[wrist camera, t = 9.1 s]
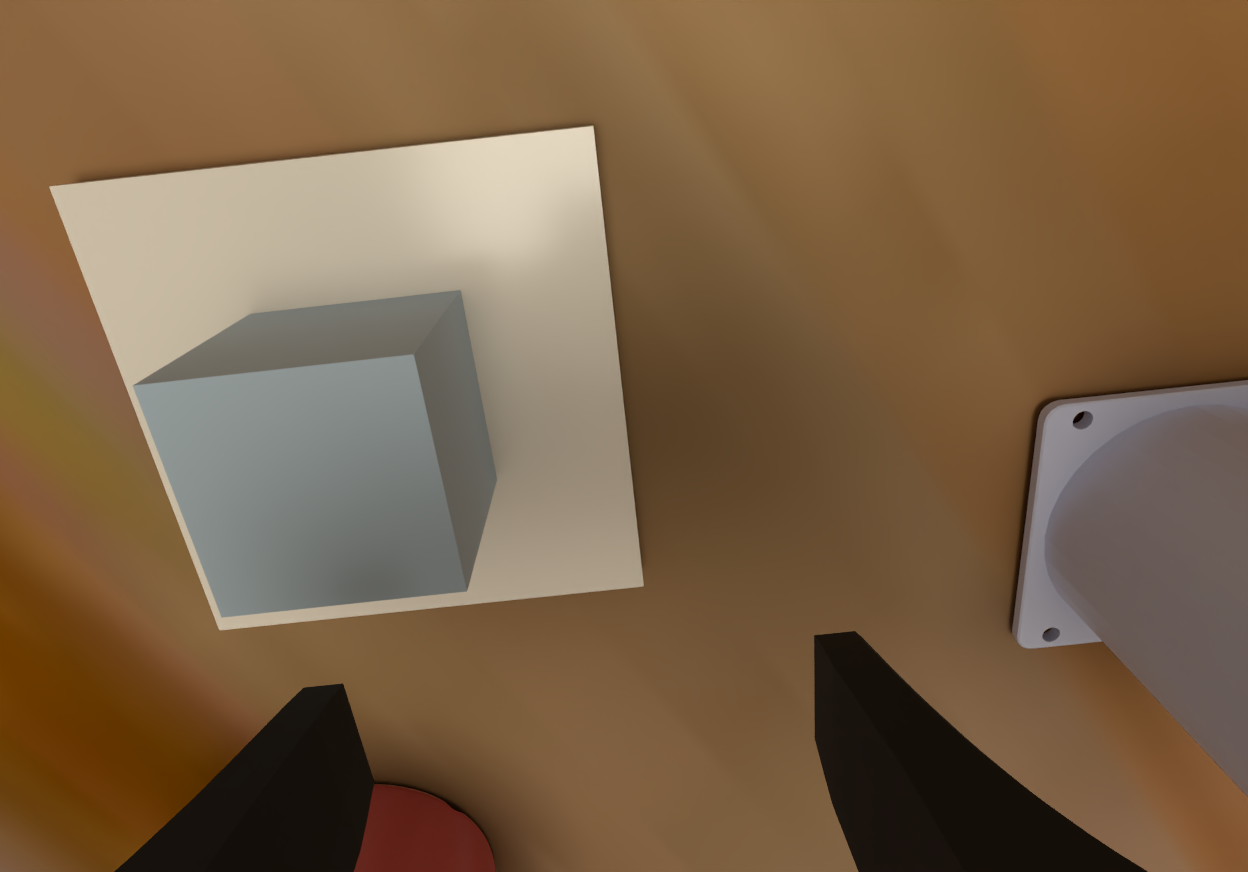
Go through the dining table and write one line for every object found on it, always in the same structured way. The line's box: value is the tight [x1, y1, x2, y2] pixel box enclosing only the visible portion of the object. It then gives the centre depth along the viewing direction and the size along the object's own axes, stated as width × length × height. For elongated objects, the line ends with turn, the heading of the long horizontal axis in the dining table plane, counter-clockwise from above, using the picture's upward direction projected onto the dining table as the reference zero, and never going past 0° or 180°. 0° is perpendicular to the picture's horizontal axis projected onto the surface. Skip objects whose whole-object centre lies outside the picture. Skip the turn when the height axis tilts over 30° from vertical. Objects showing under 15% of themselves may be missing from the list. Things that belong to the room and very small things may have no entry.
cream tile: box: [49, 125, 644, 630], centre depth 20 cm, size 12×12×1 cm
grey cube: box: [133, 290, 497, 618], centre depth 17 cm, size 5×5×5 cm
